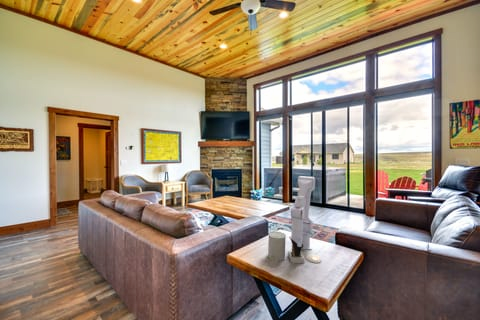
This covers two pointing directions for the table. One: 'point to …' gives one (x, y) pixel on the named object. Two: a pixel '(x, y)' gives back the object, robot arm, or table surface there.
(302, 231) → the robot arm
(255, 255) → the table surface
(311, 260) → the coaster
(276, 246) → the grey cylinder
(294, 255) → the walnut block
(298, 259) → the pocket
